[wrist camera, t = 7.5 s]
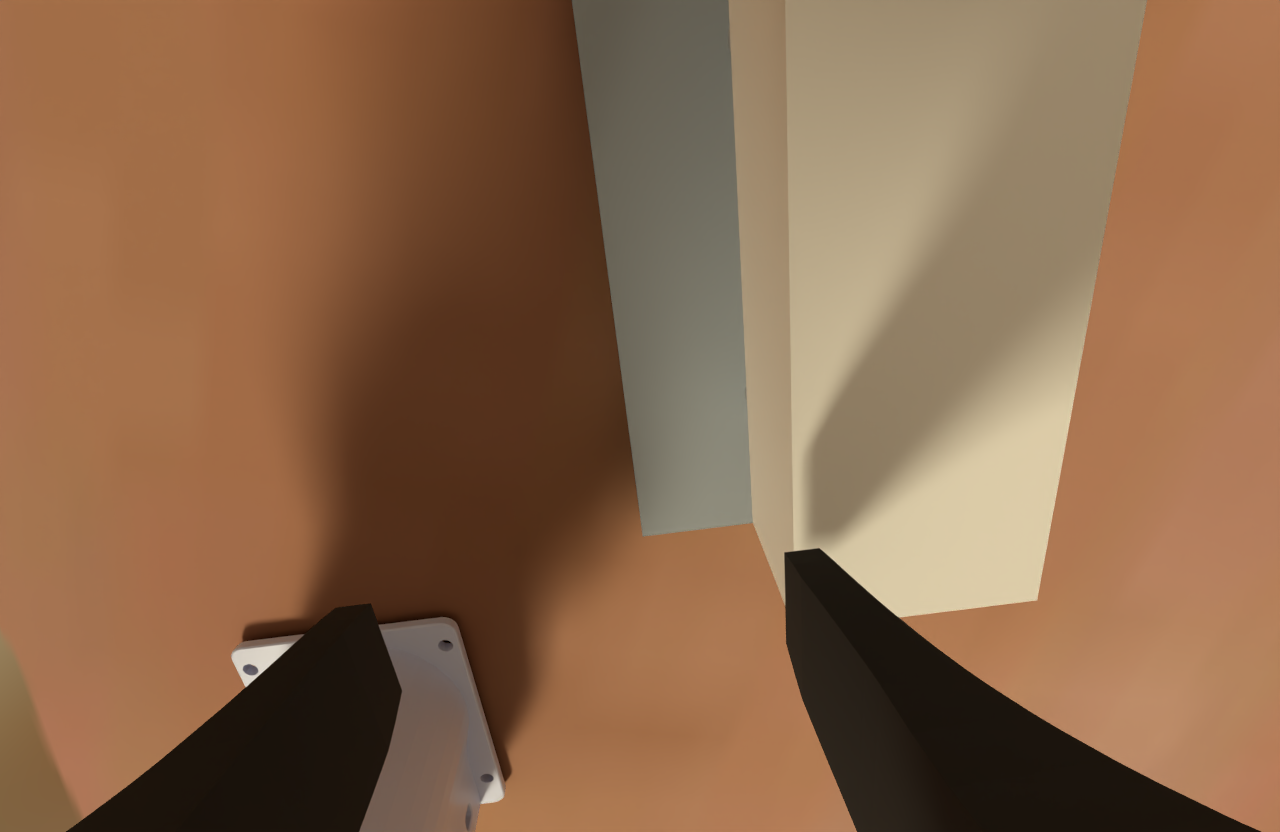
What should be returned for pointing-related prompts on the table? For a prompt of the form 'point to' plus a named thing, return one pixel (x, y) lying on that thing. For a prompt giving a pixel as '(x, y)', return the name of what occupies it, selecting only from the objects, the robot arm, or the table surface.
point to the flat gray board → (672, 249)
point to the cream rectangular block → (921, 276)
